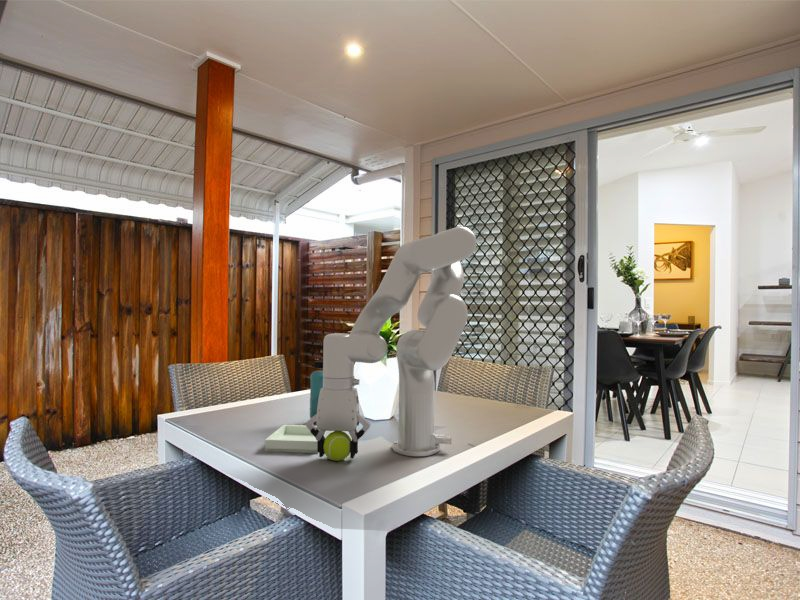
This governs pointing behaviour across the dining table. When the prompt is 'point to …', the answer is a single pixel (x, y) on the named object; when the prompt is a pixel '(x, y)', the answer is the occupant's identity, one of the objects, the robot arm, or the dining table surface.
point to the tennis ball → (337, 445)
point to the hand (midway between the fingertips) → (337, 455)
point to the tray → (293, 440)
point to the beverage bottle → (315, 387)
